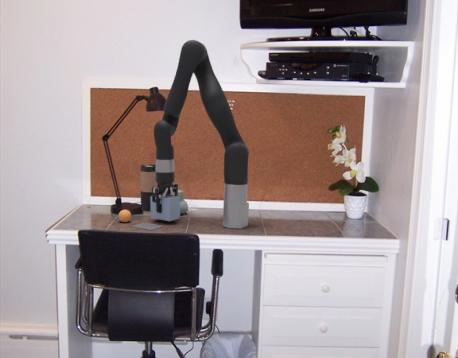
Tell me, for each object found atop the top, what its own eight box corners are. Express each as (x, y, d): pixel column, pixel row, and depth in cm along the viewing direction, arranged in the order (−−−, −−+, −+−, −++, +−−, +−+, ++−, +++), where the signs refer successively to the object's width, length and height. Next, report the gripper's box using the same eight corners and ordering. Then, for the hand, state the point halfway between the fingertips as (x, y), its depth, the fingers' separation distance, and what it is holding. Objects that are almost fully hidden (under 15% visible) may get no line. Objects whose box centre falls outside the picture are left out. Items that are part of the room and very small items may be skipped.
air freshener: (164, 211, 227) (165, 189, 225) (183, 210, 229) (183, 188, 228) (169, 216, 217) (170, 193, 215) (188, 215, 219) (189, 192, 218)
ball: (133, 221, 205) (133, 209, 204) (125, 224, 201) (125, 211, 200) (124, 220, 208) (124, 207, 207) (115, 222, 203) (115, 209, 203)
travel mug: (154, 212, 224) (154, 166, 221) (137, 210, 226) (138, 165, 223) (160, 208, 231) (160, 164, 228) (144, 207, 233) (144, 164, 230)
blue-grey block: (179, 218, 206) (179, 196, 205) (169, 221, 201) (169, 199, 199) (161, 215, 211) (161, 194, 210) (150, 218, 206) (150, 196, 204)
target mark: (164, 226, 199) (164, 226, 199) (151, 230, 192) (151, 230, 192) (144, 222, 204) (144, 222, 204) (131, 226, 197) (131, 226, 197)
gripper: (160, 173, 195) (161, 215, 198) (183, 169, 207) (183, 209, 210) (145, 171, 199) (146, 213, 202) (168, 167, 211) (169, 207, 214)
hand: (165, 211), depth 206 cm, fingers closed on blue-grey block, 6 cm apart
